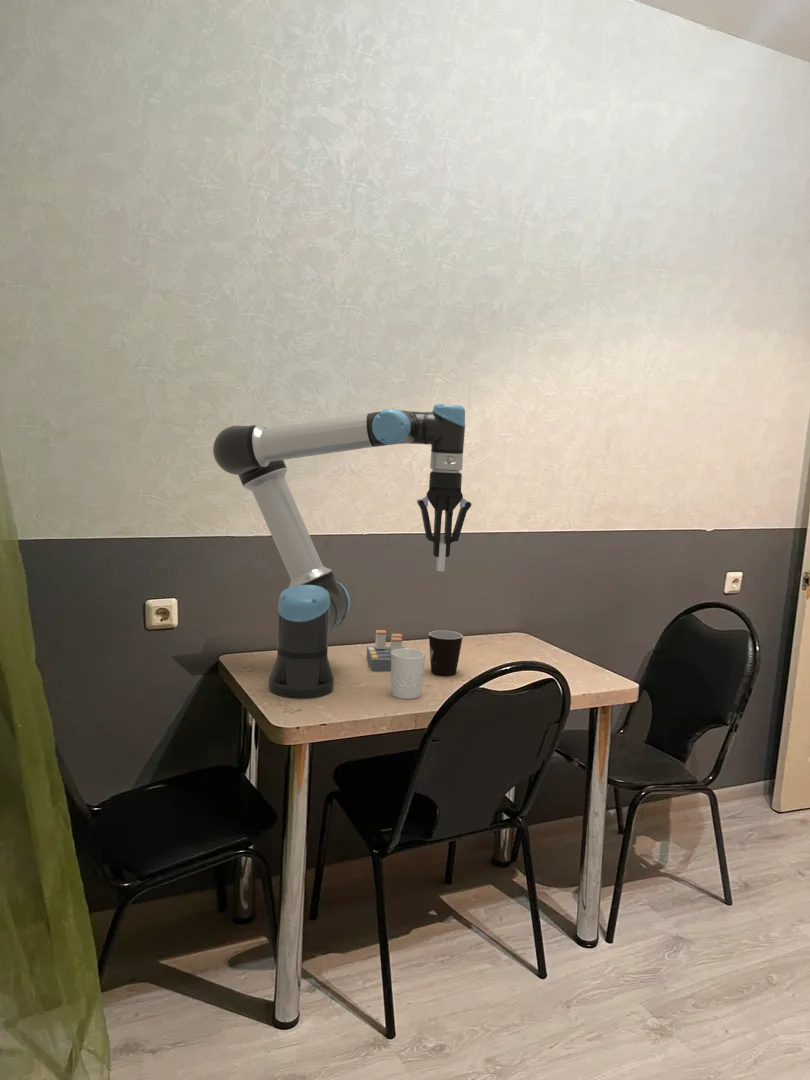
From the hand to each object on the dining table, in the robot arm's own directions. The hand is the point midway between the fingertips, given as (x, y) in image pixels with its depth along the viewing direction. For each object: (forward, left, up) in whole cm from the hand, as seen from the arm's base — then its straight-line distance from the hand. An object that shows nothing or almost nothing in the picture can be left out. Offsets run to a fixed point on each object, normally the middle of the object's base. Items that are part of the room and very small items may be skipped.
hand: (440, 570), depth 192 cm
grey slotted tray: (-9, +17, -28) cm, 34 cm away
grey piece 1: (-8, +14, -25) cm, 30 cm away
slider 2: (-7, +17, -25) cm, 31 cm away
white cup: (-8, -7, -29) cm, 30 cm away
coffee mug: (+5, +11, -29) cm, 31 cm away
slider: (-11, +20, -25) cm, 34 cm away
